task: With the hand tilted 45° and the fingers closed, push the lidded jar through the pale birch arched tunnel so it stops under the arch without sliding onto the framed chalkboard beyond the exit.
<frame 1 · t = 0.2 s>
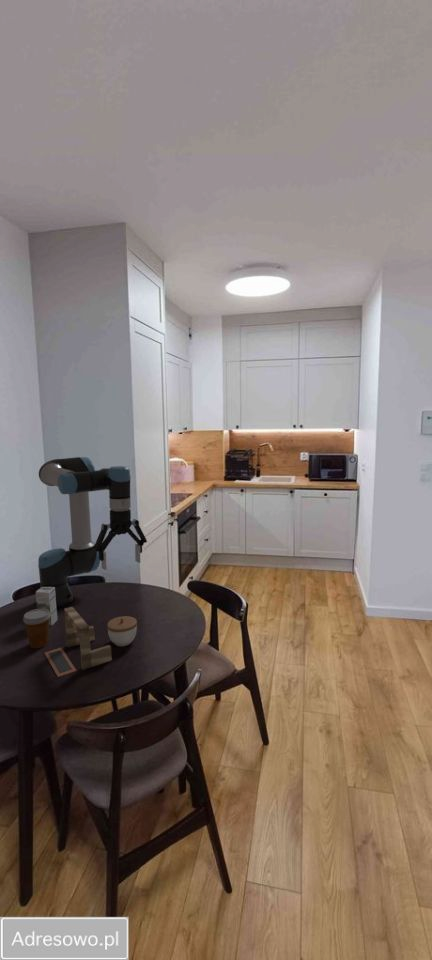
hand: (121, 565, 168), 28 cm above the table, tool pointing down, fingers open, 13 cm apart
tunnel: (88, 652, 160), on the table
syrup box: (48, 623, 184), on the table
framed chalkboard: (59, 662, 155), on the table
disposable coffee cup: (39, 644, 167), on the table
lidded jar: (123, 642, 167), on the table
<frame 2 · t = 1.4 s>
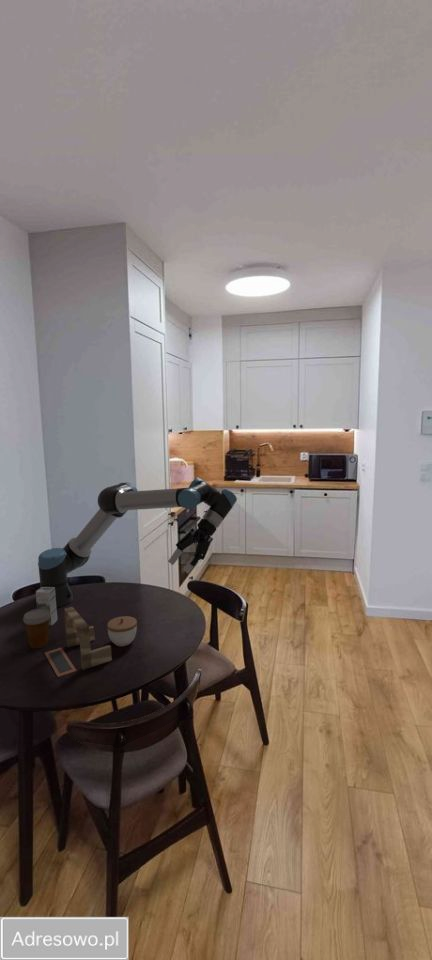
hand: (177, 567, 177), 24 cm above the table, tool tilted 45°, fingers open, 12 cm apart
nothing on the table moved.
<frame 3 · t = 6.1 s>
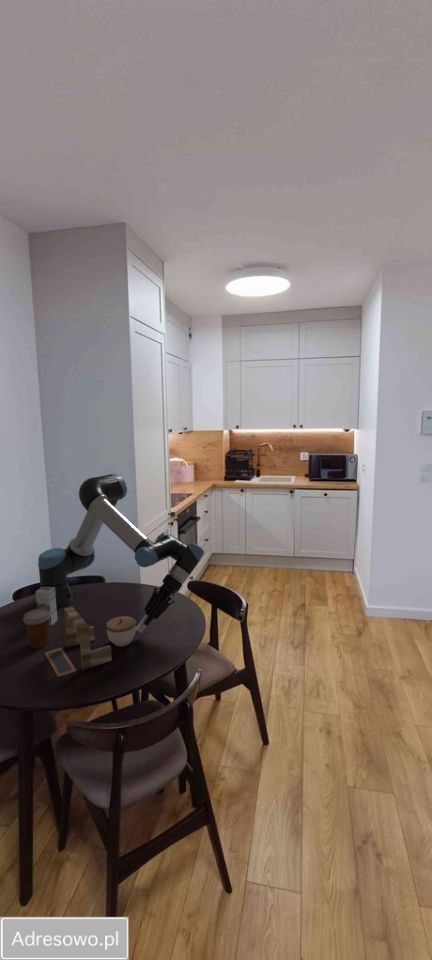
hand: (138, 631, 170), 3 cm above the table, tool tilted 45°, fingers closed
lidded jar: (122, 642, 167), on the table, touching gripper
everything else where it was.
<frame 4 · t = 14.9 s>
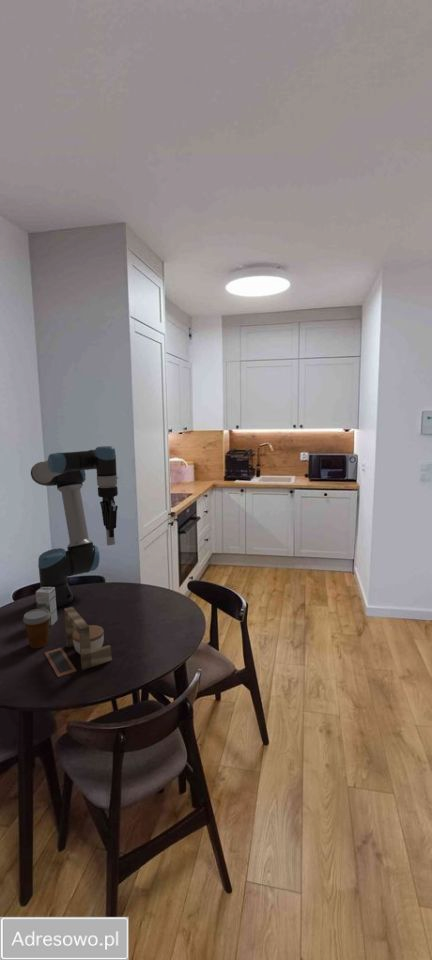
hand: (110, 544, 180), 32 cm above the table, tool pointing down, fingers closed
lidded jar: (89, 653, 161), on the table
everything else where it was.
at the end: lidded jar inside the target area (0.3 cm from its centre), on the table; lidded jar touching table; lidded jar tilted 0° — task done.
